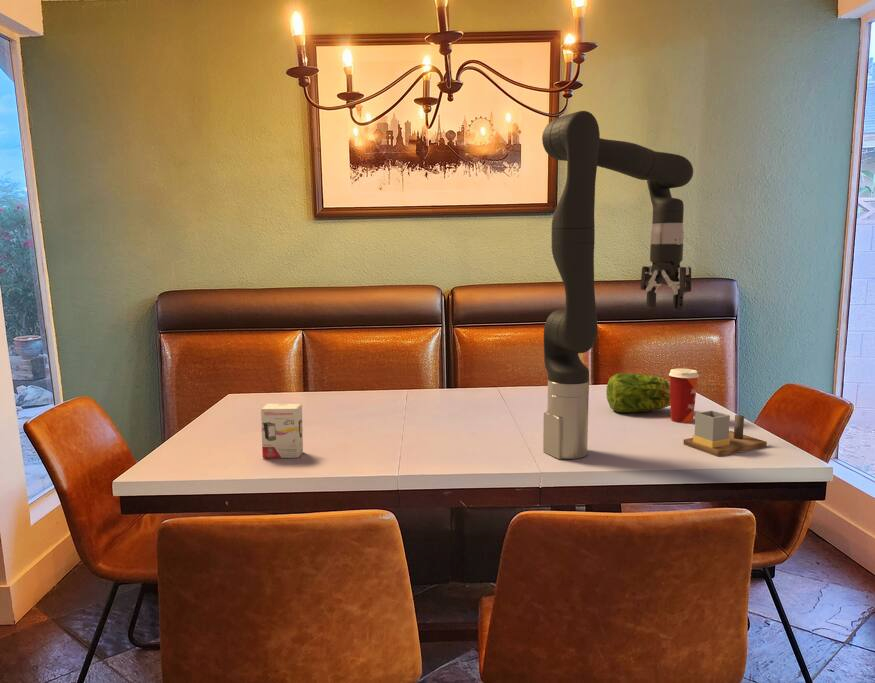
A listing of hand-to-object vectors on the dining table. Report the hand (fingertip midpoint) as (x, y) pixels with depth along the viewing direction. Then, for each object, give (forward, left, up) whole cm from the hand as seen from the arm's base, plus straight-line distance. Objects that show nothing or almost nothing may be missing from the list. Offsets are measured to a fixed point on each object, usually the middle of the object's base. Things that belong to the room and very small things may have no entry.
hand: (664, 308), depth 150 cm
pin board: (+7, -14, -32) cm, 36 cm away
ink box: (-90, +26, -32) cm, 99 cm away
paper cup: (+15, +7, -32) cm, 36 cm away
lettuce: (+12, +19, -32) cm, 40 cm away
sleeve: (+3, -14, -31) cm, 34 cm away
